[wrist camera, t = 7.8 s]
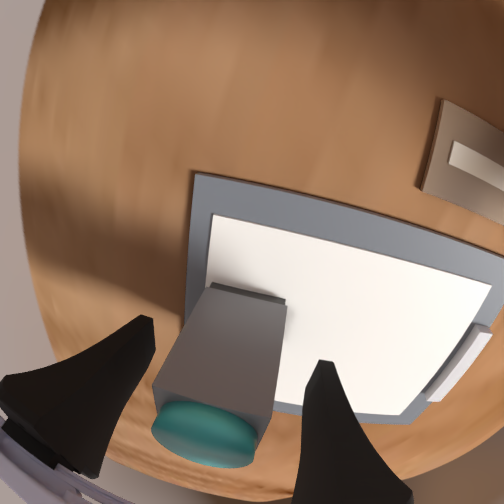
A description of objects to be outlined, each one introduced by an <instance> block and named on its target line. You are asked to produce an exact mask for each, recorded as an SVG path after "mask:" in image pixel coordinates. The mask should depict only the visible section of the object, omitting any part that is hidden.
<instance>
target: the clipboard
mask: <svg viewBox="0 0 504 504" xmlns="http://www.w3.org/2000/svg"><path fill="white" fill-rule="evenodd" d="M212 282H215V283H219V284H223V285H227V286H231V287H235V288H240V289H244V290H248V291H252V292H257V293H261V294H266V295H270V296H274V297H279V298H283V299H286V302H285V305H287V314H286V322H285V330H284V338H283V345H282V352H281V359H280V366H279V373H278V380H277V386H276V393H275V399H274V405H273V411H277V412H283V413H288V414H294V415H300V416H302V407H303V400H304V393H305V387H306V385H307V383H308V381H309V379H310V377H311V375H312V373H313V371H314V369H315V367H316V365H317V363H318V360H319V359H321V360H327V361H333V362H334V364H335V367H336V370H337V373H338V376H339V378H340V381H341V384H342V386H343V389H344V391H345V394H346V396H347V398H348V401H349V403H350V405H351V407H352V410H353V412H354V414H355V416H356V418H357V420H358V422H359V423H374V424H409V425H410V424H411V423H412V422H413V421H414V420H415V419H416V418H417V417H418V416H419V415H420V414H421V413H422V412H423V411H424V410H425V409H426V408H427V407H428V406H429V405H430V404H431V403H432V402H433V401H441V400H442V398H443V397H444V396H445V395H446V394H447V393H448V392H449V391H450V390H451V388H452V387H453V386H454V385H455V384H456V383H457V381H458V380H459V379H460V378H461V377H462V375H463V374H464V373H465V372H466V370H467V369H468V368H469V367H470V365H471V364H472V363H473V361H474V360H475V359H476V357H477V356H478V355H479V353H480V352H481V351H482V349H483V348H484V346H485V345H486V343H487V342H488V341H489V339H490V338H491V336H492V335H493V334H492V332H491V330H490V329H489V328H490V326H491V325H492V323H493V321H494V320H495V318H496V317H497V315H498V313H499V312H500V310H501V308H502V306H503V305H504V257H503V256H501V255H498V254H496V253H493V252H490V251H488V250H485V249H483V248H480V247H477V246H475V245H472V244H469V243H467V242H464V241H461V240H458V239H455V238H453V237H450V236H447V235H444V234H441V233H438V232H435V231H432V230H429V229H426V228H423V227H420V226H417V225H414V224H411V223H407V222H404V221H401V220H398V219H395V218H391V217H388V216H384V215H381V214H378V213H374V212H371V211H367V210H364V209H360V208H356V207H353V206H349V205H345V204H342V203H338V202H334V201H330V200H326V199H322V198H318V197H314V196H310V195H306V194H302V193H298V192H293V191H289V190H285V189H280V188H276V187H271V186H267V185H262V184H257V183H252V182H247V181H242V180H237V179H232V178H227V177H222V176H216V175H211V174H205V173H200V172H198V173H197V174H195V181H194V191H193V200H192V210H191V221H190V233H189V245H188V259H187V275H186V293H185V317H184V325H185V323H186V322H187V320H188V318H189V316H190V314H191V313H192V311H193V309H194V307H195V305H196V304H197V302H198V300H199V298H200V297H201V295H202V293H203V291H204V290H205V288H206V287H210V285H211V283H212Z"/></svg>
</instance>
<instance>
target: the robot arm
mask: <svg viewBox="0 0 504 504" xmlns="http://www.w3.org/2000/svg"><path fill="white" fill-rule="evenodd" d="M155 351H156V347H155V336H154V324H153V318H150V317H147V316H144V315H139V316H138V317H136V318H135V319H133V320H132V321H130V322H129V323H127V324H126V325H124V326H123V327H121V328H120V329H119V330H117V331H116V332H114V333H113V334H111V335H109V336H108V337H106V338H105V339H103V340H102V341H100V342H98V343H97V344H95V345H93V346H92V347H90V348H88V349H86V350H84V351H83V352H81V353H79V354H77V355H75V356H72V357H70V358H68V359H66V360H63V361H61V362H58V363H55V364H53V365H50V366H47V367H44V368H40V369H37V370H33V371H28V372H24V373H18V374H11V375H6V376H5V377H4V378H3V379H2V380H1V382H0V408H1V409H2V410H3V411H4V413H5V414H6V415H7V416H8V419H7V420H6V421H5V420H4V419H3V418H2V417H1V416H0V478H1V479H2V480H3V481H4V482H5V483H6V484H7V485H8V486H9V487H10V488H11V489H12V490H13V491H14V492H15V493H16V494H18V496H19V497H20V498H22V499H23V500H24V501H25V502H26V503H27V504H92V503H91V502H89V501H87V500H85V499H84V498H82V495H81V493H80V492H82V493H83V494H85V495H87V496H89V497H91V498H92V499H94V500H96V501H98V502H100V503H102V504H134V503H132V502H130V501H127V500H125V499H123V498H121V497H118V496H116V495H114V494H112V493H110V492H108V491H106V490H104V489H102V488H100V487H98V486H96V485H95V484H92V483H91V482H89V481H87V480H85V479H84V478H82V477H80V476H78V475H77V474H75V473H73V471H75V472H77V473H78V474H83V475H84V476H86V477H88V478H90V479H95V478H98V477H99V473H100V469H101V466H102V462H103V459H104V456H105V453H106V450H107V447H108V444H109V441H110V439H111V436H112V434H113V431H114V429H115V426H116V424H117V422H118V419H119V417H120V415H121V413H122V411H123V409H124V407H125V405H126V403H127V402H128V400H129V398H130V397H131V395H132V393H133V392H134V390H135V388H136V387H137V385H138V384H139V382H140V380H141V379H142V377H143V375H144V374H145V372H146V370H147V369H148V366H149V364H150V362H151V360H152V358H153V355H154V353H155ZM79 491H80V492H79ZM291 504H414V499H413V493H412V490H411V489H410V488H409V487H408V486H407V485H405V484H404V483H403V482H402V481H401V480H400V479H399V478H398V477H397V476H396V475H395V474H394V473H393V471H392V470H391V469H390V468H389V467H388V466H387V464H386V463H385V462H384V460H383V459H382V458H381V457H380V455H379V454H378V453H377V451H376V450H375V448H374V447H373V445H372V444H371V442H370V441H369V439H368V438H367V436H366V434H365V433H364V431H363V429H362V427H361V426H360V424H359V422H358V420H357V418H356V416H355V414H354V412H353V410H352V407H351V405H350V403H349V401H348V398H347V396H346V394H345V391H344V389H343V386H342V384H341V381H340V378H339V376H338V373H337V370H336V367H335V364H334V362H333V361H327V360H321V359H319V360H318V363H317V365H316V367H315V369H314V371H313V373H312V375H311V377H310V379H309V381H308V383H307V385H306V387H305V393H304V400H303V407H302V433H301V454H300V463H299V468H298V474H297V479H296V484H295V489H294V494H293V498H292V502H291Z"/></svg>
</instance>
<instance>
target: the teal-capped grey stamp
mask: <svg viewBox="0 0 504 504" xmlns="http://www.w3.org/2000/svg"><path fill="white" fill-rule="evenodd" d="M285 302H286V299H283V298H279V297H274V296H270V295H266V294H261V293H257V292H252V291H248V290H244V289H240V288H235V287H231V286H227V285H223V284H219V283H215V282H212V283H211V285H210V287H206V288H205V290H204V291H203V293H202V295H201V297H200V298H199V300H198V302H197V304H196V305H195V307H194V309H193V311H192V313H191V314H190V316H189V318H188V320H187V322H186V323H185V325H184V327H183V329H182V331H181V332H180V334H179V336H178V338H177V340H176V342H175V343H174V345H173V347H172V349H171V351H170V352H169V354H168V356H167V358H166V360H165V362H164V364H163V365H162V367H161V369H160V371H159V373H158V375H157V377H156V378H155V380H154V382H153V384H152V388H153V394H154V400H155V405H156V410H157V417H156V419H155V421H154V423H153V425H152V428H151V432H152V434H153V436H154V438H155V439H156V440H157V441H158V442H159V443H160V444H161V445H163V446H164V447H165V448H167V449H168V450H170V451H171V452H173V453H175V454H177V455H179V456H181V457H183V458H185V459H188V460H190V461H193V462H196V463H199V464H203V465H207V466H212V467H219V468H240V467H244V466H247V465H249V464H251V463H252V462H253V459H254V455H255V451H256V449H257V447H258V445H259V443H260V441H261V439H262V437H263V435H264V433H265V431H266V428H267V426H268V424H269V422H270V420H271V417H272V411H273V405H274V399H275V393H276V386H277V380H278V373H279V366H280V359H281V352H282V345H283V338H284V330H285V322H286V314H287V305H285Z"/></svg>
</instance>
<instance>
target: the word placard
mask: <svg viewBox="0 0 504 504" xmlns="http://www.w3.org/2000/svg"><path fill="white" fill-rule="evenodd" d="M420 190H421V191H422V192H425V193H428V194H430V195H433V196H436V197H438V198H441V199H443V200H446V201H448V202H451V203H453V204H456V205H458V206H461V207H463V208H465V209H468V210H470V211H472V212H475V213H477V214H479V215H481V216H484V217H486V218H488V219H490V220H492V221H494V222H497V223H499V224H501V225H503V226H504V133H503V132H502V131H500V130H499V129H497V128H495V127H494V126H492V125H491V124H489V123H487V122H486V121H484V120H482V119H481V118H479V117H477V116H475V115H474V114H472V113H470V112H468V111H466V110H465V109H463V108H461V107H459V106H457V105H455V104H453V103H451V102H449V101H447V100H445V99H442V100H441V105H440V111H439V116H438V121H437V125H436V130H435V134H434V139H433V143H432V147H431V151H430V155H429V159H428V163H427V166H426V170H425V174H424V177H423V180H422V184H421V187H420Z"/></svg>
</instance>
